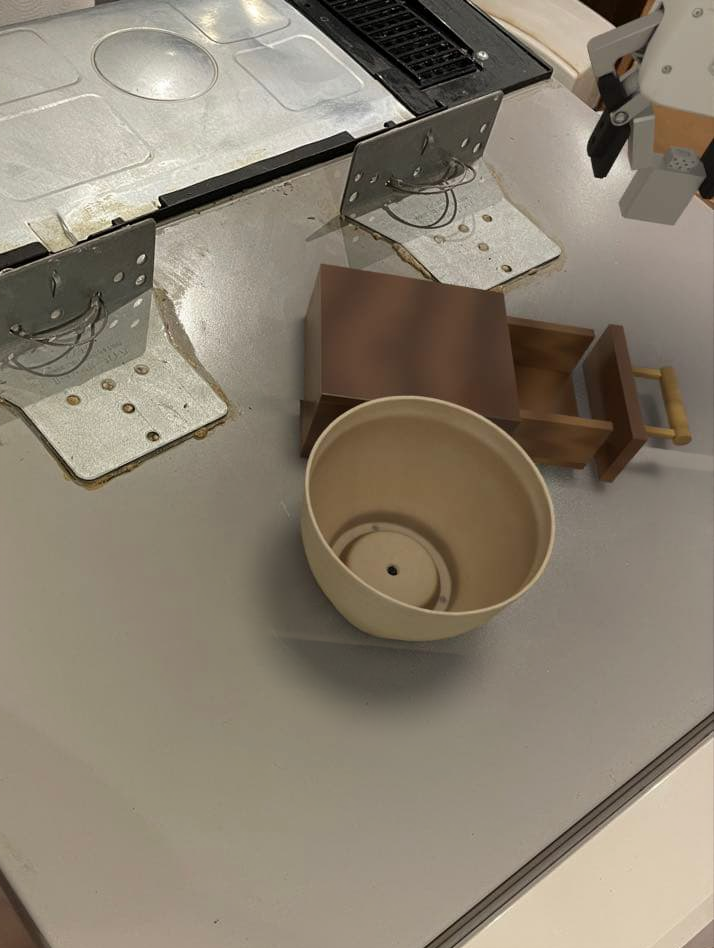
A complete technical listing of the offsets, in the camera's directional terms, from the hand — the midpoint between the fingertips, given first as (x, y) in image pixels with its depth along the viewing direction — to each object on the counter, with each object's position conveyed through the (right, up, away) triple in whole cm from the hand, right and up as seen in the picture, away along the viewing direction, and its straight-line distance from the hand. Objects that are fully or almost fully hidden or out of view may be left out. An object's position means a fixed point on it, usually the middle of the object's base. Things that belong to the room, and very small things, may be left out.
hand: (649, 174), depth 68 cm
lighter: (-1, -2, +3) cm, 3 cm away
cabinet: (-17, -14, +11) cm, 25 cm away
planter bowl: (-18, -28, +2) cm, 34 cm away
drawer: (-4, -15, +12) cm, 20 cm away
